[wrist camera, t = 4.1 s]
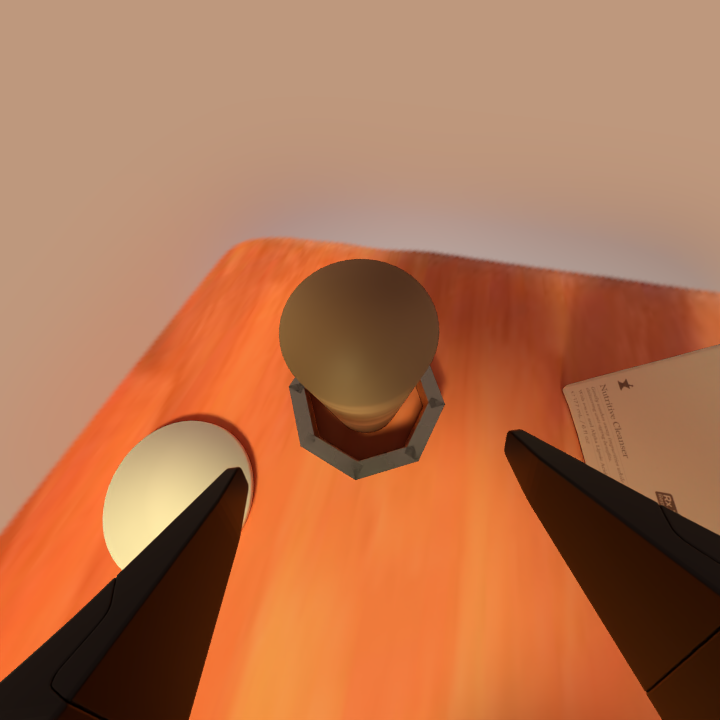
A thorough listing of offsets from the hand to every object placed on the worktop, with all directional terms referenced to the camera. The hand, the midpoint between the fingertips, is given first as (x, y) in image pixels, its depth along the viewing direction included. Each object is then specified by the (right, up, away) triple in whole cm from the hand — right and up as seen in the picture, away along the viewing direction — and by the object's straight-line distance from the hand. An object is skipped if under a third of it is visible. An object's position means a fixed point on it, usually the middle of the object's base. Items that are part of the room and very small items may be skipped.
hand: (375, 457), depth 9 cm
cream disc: (-13, -6, +10) cm, 17 cm away
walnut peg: (0, 0, +11) cm, 11 cm away
